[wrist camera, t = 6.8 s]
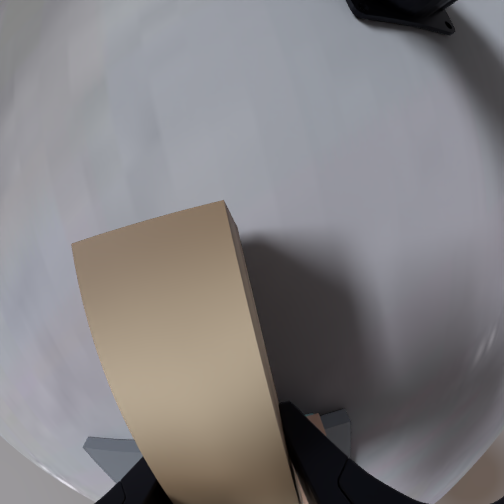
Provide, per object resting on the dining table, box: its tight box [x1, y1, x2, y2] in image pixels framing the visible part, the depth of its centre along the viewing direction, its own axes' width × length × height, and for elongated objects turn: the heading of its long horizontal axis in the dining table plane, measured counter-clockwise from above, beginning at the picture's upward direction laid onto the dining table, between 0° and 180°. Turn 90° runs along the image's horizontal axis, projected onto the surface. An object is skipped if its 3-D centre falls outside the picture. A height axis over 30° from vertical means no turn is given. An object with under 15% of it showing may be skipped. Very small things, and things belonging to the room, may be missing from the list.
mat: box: [83, 409, 351, 484], centre depth 12 cm, size 15×9×1 cm, turn 103°
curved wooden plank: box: [71, 200, 304, 504], centre depth 7 cm, size 12×3×4 cm, turn 13°
